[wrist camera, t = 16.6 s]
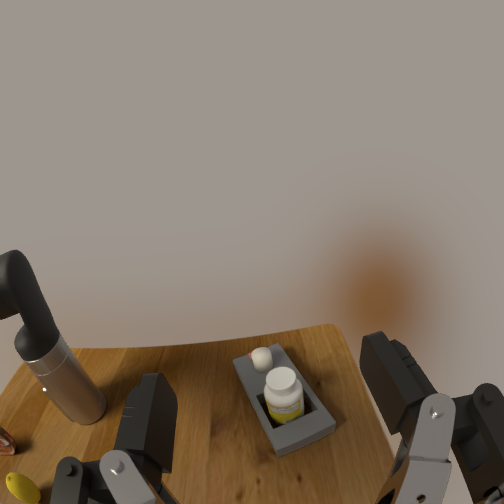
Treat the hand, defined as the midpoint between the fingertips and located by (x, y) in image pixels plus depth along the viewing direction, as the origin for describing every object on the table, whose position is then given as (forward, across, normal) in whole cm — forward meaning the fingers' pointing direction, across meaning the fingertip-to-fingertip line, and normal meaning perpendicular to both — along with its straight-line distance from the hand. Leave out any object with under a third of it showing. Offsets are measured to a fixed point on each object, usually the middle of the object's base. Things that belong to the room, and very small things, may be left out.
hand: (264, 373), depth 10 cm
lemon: (-5, +43, +30) cm, 52 cm away
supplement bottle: (+16, -1, +30) cm, 34 cm away
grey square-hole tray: (+19, -1, +30) cm, 36 cm away
